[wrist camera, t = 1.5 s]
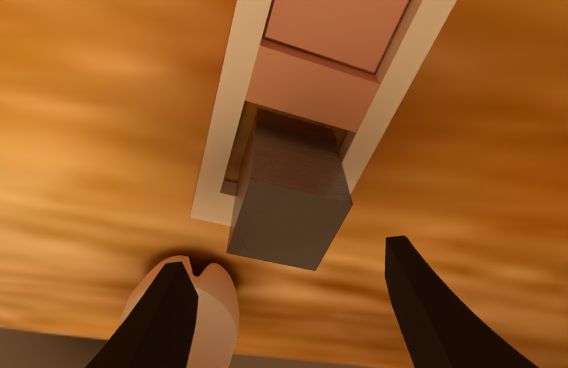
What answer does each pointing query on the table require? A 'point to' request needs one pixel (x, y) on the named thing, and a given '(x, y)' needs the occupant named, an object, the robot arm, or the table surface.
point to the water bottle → (204, 313)
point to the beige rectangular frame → (316, 77)
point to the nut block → (288, 193)
